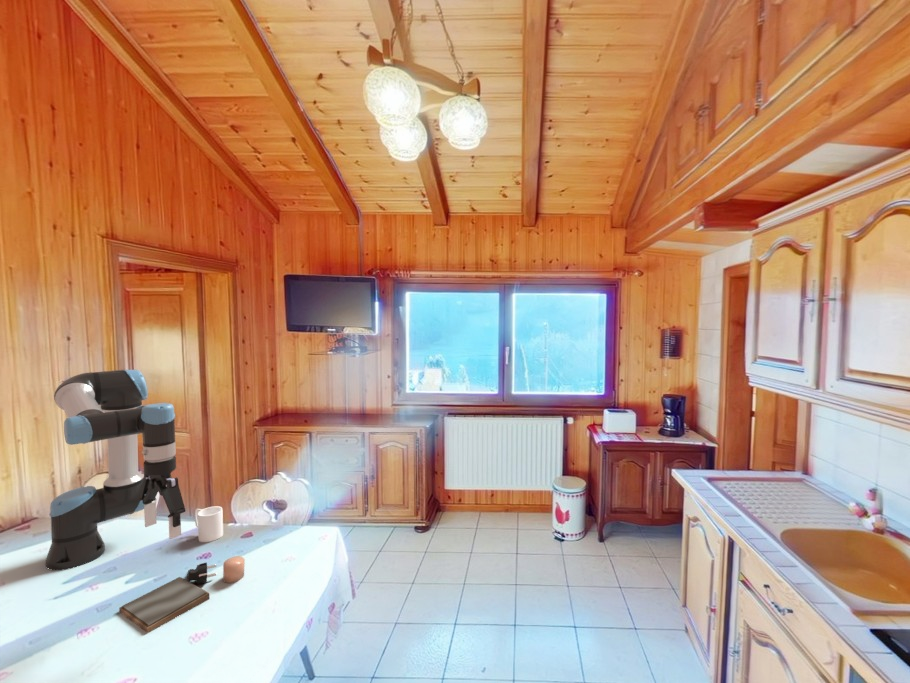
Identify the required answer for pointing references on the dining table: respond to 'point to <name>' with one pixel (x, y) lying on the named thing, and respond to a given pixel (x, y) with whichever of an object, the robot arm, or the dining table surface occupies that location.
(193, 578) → the power plug
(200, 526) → the cup
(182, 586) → the stand
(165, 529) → the dining table surface
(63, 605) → the dining table surface
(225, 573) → the peach rounded cylinder
